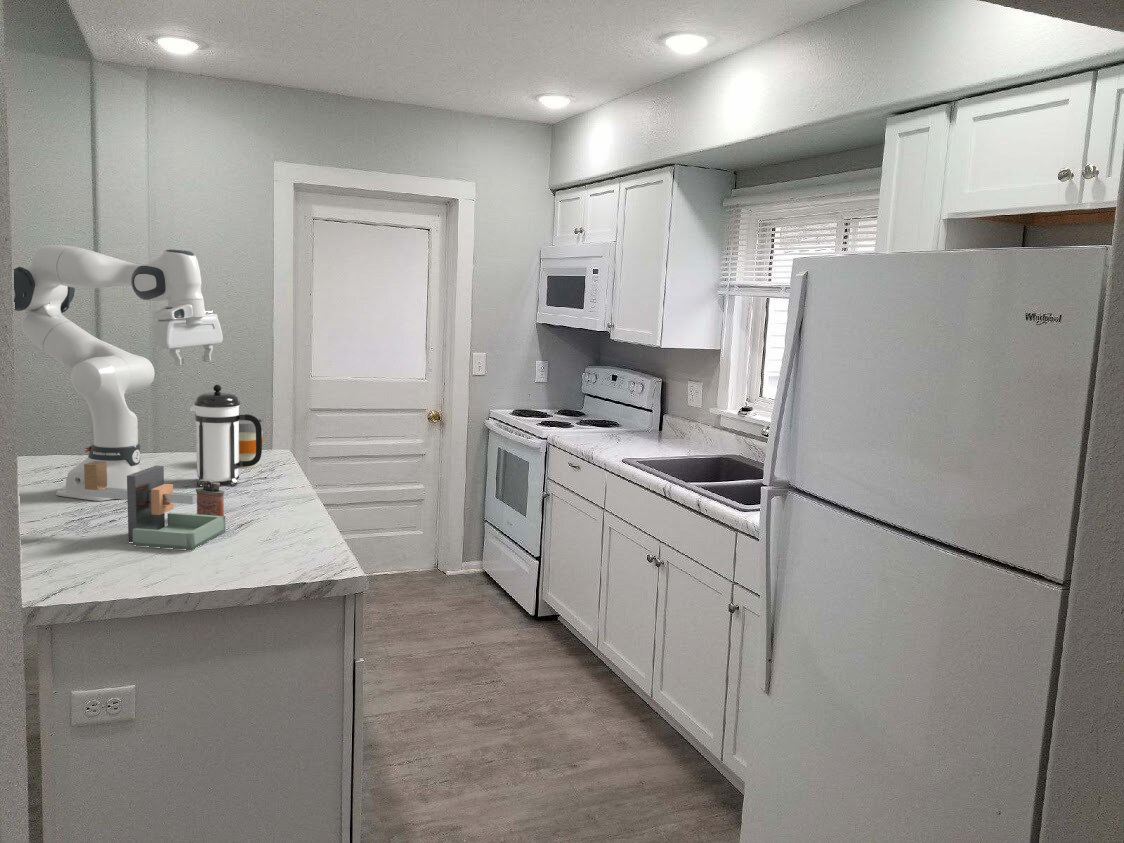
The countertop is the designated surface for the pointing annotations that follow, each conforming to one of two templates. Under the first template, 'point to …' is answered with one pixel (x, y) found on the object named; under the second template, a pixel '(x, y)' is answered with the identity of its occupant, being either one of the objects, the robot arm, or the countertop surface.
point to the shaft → (98, 488)
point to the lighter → (210, 498)
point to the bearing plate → (143, 500)
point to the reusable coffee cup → (248, 441)
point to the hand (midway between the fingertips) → (193, 363)
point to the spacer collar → (160, 499)
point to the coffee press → (221, 436)
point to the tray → (181, 531)
